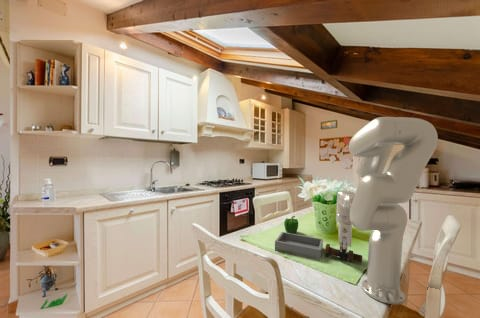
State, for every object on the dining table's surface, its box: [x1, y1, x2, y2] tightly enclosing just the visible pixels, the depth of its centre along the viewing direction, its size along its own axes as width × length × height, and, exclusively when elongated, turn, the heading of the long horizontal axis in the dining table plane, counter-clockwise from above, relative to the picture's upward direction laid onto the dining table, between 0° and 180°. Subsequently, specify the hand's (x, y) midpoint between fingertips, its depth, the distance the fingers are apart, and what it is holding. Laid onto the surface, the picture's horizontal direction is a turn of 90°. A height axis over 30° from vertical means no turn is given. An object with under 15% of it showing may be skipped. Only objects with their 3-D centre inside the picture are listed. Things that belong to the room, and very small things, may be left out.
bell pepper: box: [283, 215, 299, 234], centre depth 131 cm, size 8×8×10 cm
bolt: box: [324, 243, 363, 263], centre depth 100 cm, size 6×5×15 cm
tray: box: [274, 231, 324, 261], centre depth 109 cm, size 14×21×4 cm, turn 65°
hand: (343, 257), depth 100 cm, fingers closed on bolt, 5 cm apart
